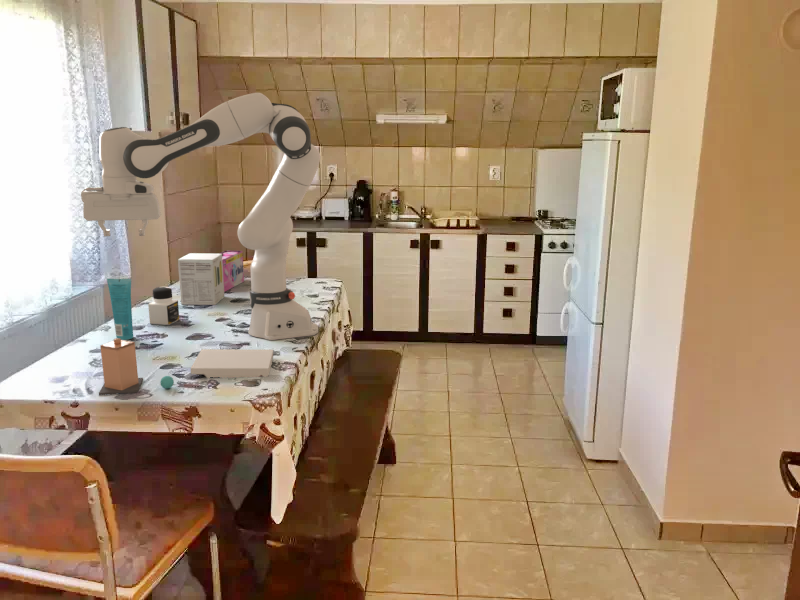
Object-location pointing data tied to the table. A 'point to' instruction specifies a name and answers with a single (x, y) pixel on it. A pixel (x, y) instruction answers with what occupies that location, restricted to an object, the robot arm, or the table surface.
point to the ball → (167, 382)
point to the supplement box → (201, 278)
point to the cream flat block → (233, 363)
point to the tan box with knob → (119, 364)
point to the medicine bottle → (163, 307)
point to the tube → (121, 307)
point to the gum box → (232, 268)
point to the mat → (131, 389)
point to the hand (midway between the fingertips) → (124, 235)
